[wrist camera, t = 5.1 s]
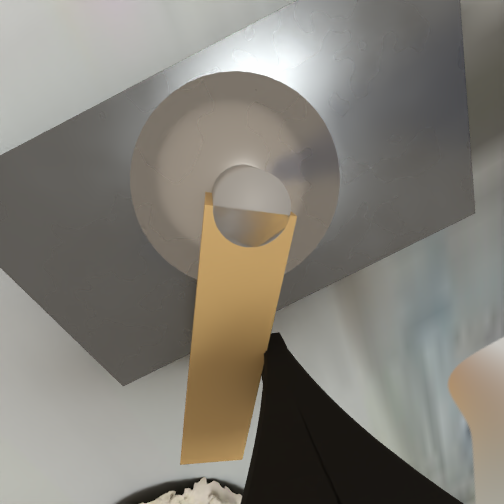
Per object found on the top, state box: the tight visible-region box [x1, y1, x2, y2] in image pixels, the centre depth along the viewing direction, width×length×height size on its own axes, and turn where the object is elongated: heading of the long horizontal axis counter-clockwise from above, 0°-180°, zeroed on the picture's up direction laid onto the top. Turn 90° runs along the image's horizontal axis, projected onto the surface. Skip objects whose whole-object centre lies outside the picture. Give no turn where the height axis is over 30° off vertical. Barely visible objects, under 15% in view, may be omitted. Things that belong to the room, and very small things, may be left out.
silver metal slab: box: [0, 0, 475, 386], centre depth 10 cm, size 20×11×3 cm, turn 115°
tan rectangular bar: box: [180, 165, 297, 465], centre depth 9 cm, size 11×2×2 cm, turn 171°
